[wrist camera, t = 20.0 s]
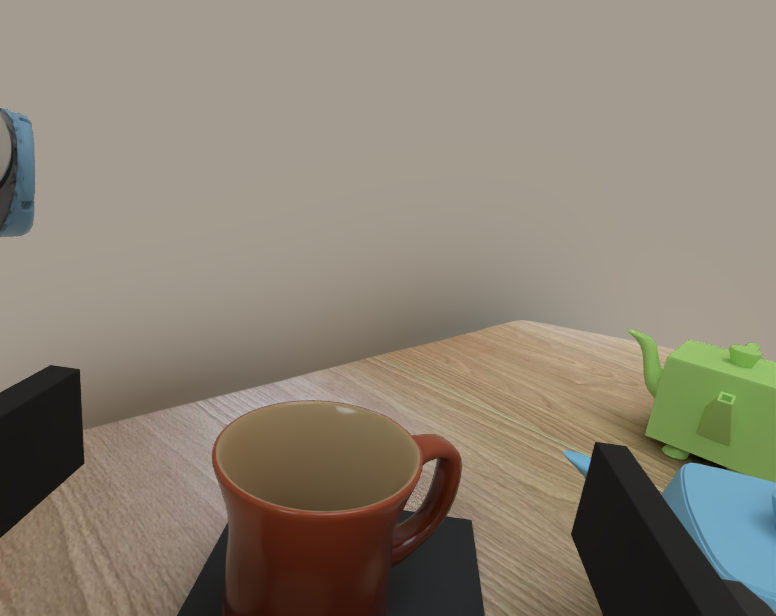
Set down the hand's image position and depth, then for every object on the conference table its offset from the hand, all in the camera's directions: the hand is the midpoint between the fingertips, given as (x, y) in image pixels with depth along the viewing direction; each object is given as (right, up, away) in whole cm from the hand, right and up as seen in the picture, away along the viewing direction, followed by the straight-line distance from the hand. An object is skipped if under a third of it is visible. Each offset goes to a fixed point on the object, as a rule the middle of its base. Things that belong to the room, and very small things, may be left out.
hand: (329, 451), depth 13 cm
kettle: (+33, -11, +38) cm, 51 cm away
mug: (-1, -13, +14) cm, 19 cm away
